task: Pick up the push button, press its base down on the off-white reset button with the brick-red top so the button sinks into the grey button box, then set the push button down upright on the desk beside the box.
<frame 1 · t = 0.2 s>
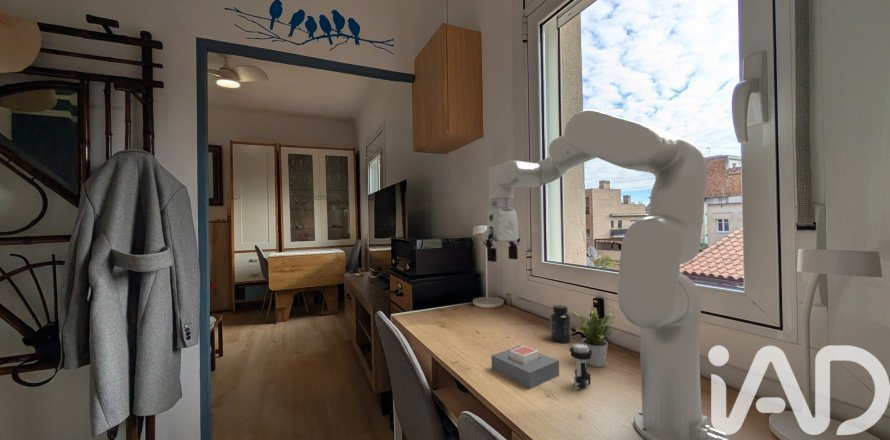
hand: (502, 260, 99), 31 cm above the table, tool pointing down, fingers open, 9 cm apart
supplement bottle: (561, 340, 114), on the table
grey button box: (524, 372, 89), on the table
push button: (580, 387, 81), on the table
house plant: (599, 365, 93), on the table
breaker button: (524, 356, 90), point 4 cm above the table, slide at 0.0 cm
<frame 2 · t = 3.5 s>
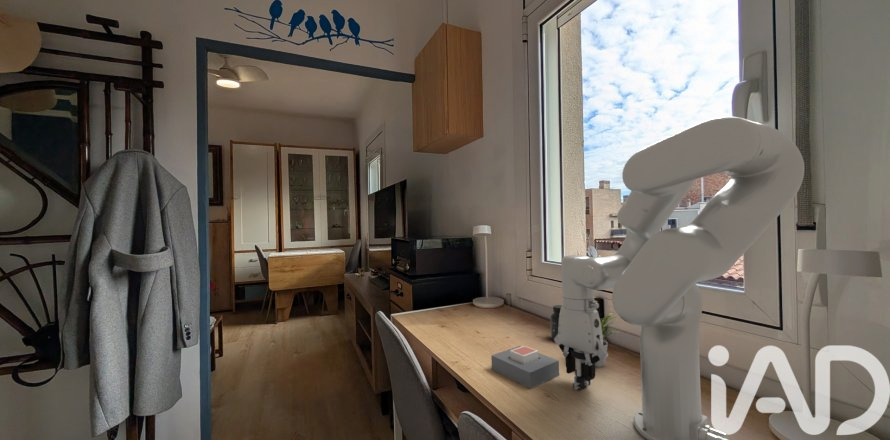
hand: (580, 374, 81), 3 cm above the table, tool pointing down, fingers closed on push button, 4 cm apart
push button: (580, 387, 81), on the table, touching gripper
everything else where it was.
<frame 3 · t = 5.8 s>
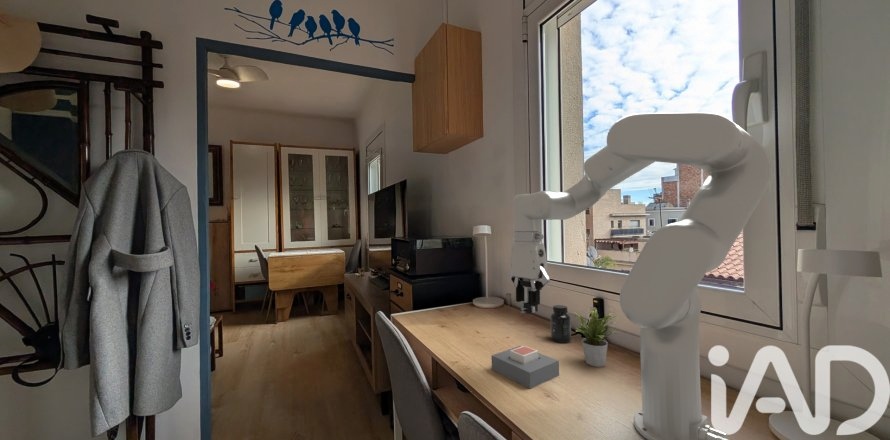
hand: (527, 302, 89), 20 cm above the table, tool pointing down, fingers closed on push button, 4 cm apart
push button: (528, 313, 89), point 17 cm above the table, touching gripper
everything else where it was.
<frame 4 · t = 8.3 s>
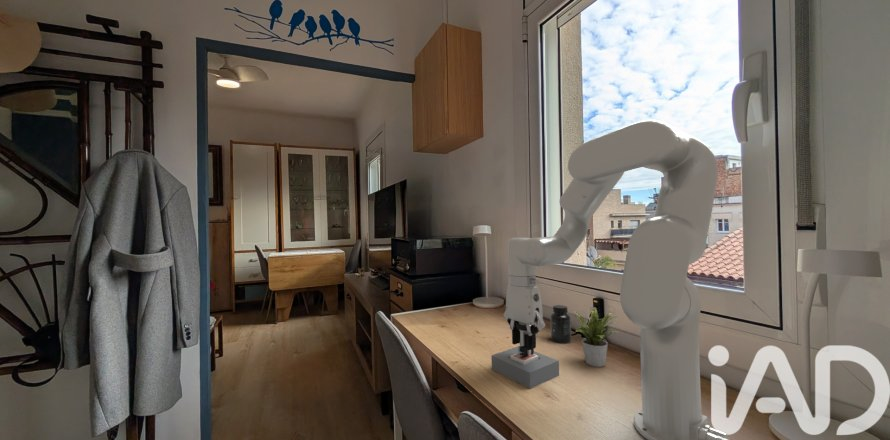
hand: (523, 345, 90), 8 cm above the table, tool pointing down, fingers closed on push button, 4 cm apart
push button: (524, 356, 90), point 4 cm above the table, touching breaker button, gripper
breaker button: (524, 361, 90), point 3 cm above the table, slide at 1.4 cm, touching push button
everything else where it was.
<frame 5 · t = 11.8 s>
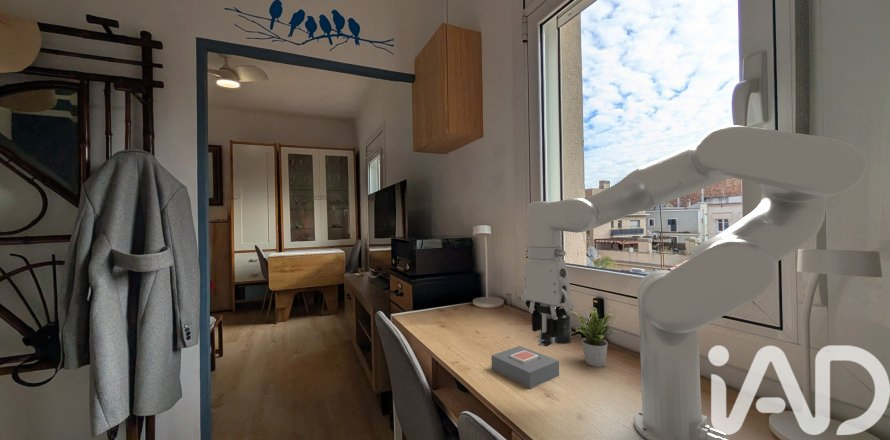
hand: (546, 332, 74), 16 cm above the table, tool pointing down, fingers closed on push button, 4 cm apart
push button: (546, 344, 74), point 13 cm above the table, touching gripper
breaker button: (524, 361, 90), point 3 cm above the table, slide at 1.3 cm
everything else where it was.
when the fingers open (4 cm above the table, at t = 14.8 s): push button drops 1 cm, on the table.
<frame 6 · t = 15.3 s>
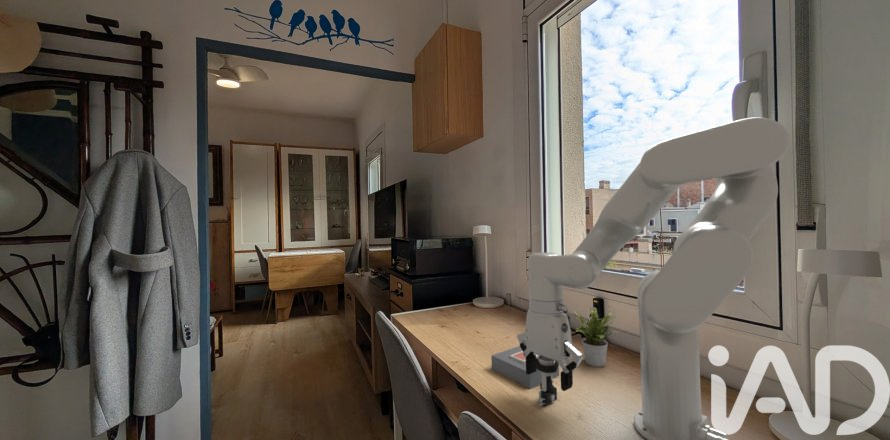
hand: (548, 380, 74), 5 cm above the table, tool pointing down, fingers open, 9 cm apart
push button: (546, 402, 74), on the table
everything else where it was.
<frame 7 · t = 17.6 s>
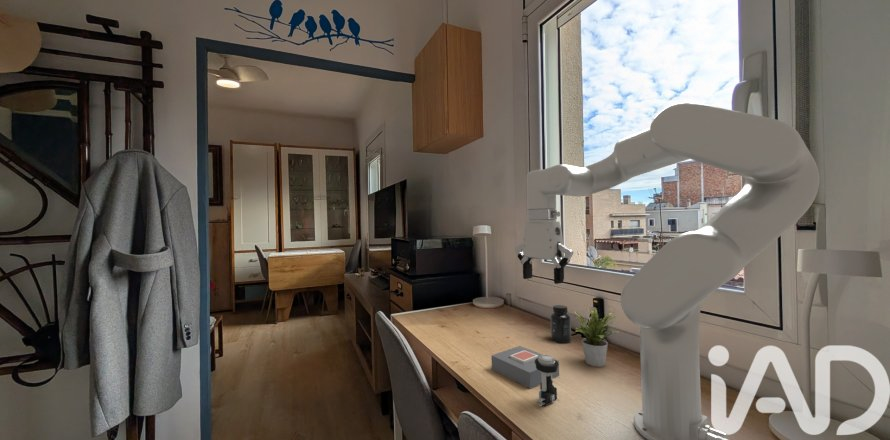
hand: (542, 280, 85), 27 cm above the table, tool pointing down, fingers open, 9 cm apart
nothing on the table moved.
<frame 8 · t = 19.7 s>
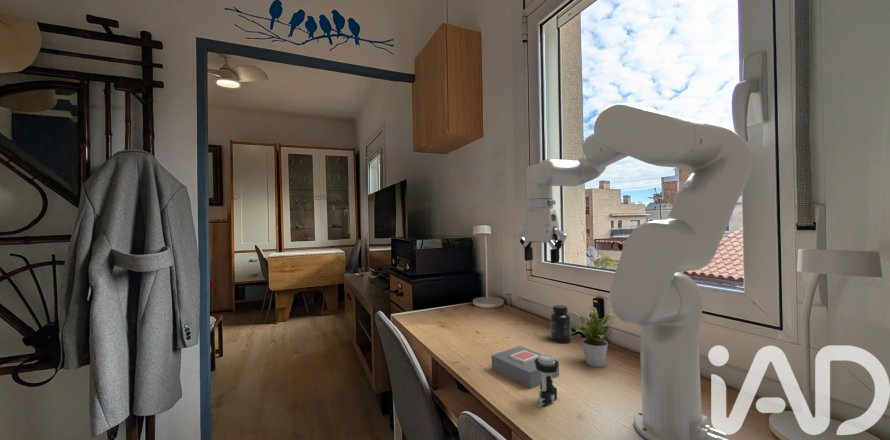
hand: (541, 261, 97), 30 cm above the table, tool pointing down, fingers open, 9 cm apart
nothing on the table moved.
at the end: breaker button slide at 1.3 cm; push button inside the target area (0.8 cm from its centre), on the table; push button tilted 0° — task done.
